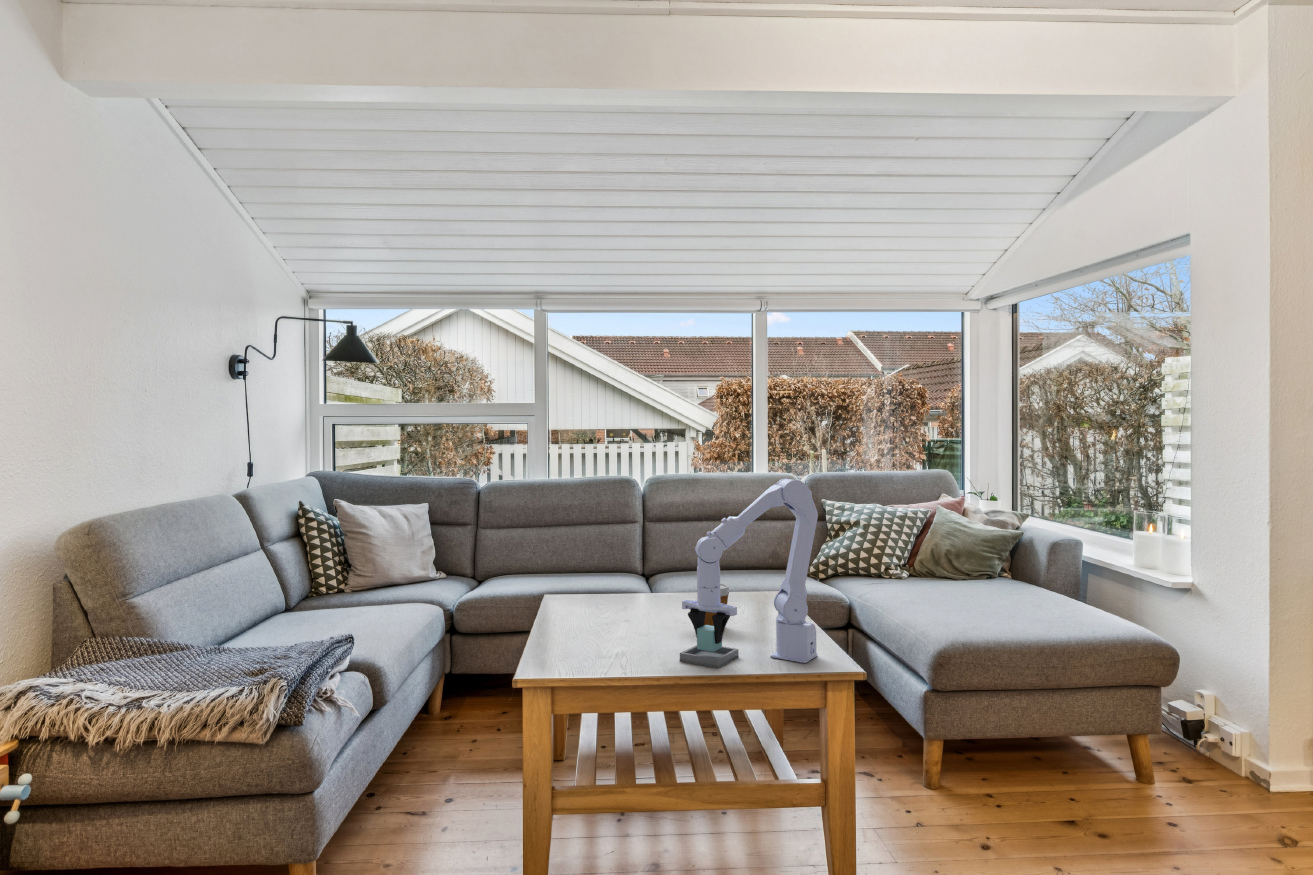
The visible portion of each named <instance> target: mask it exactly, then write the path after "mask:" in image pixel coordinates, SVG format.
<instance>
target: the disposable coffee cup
mask: <svg viewBox="0 0 1313 875" xmlns="http://www.w3.org/2000/svg"><path fill="white" fill-rule="evenodd" d="M730 592H731V590H730V587H729V584H725V583H720V603H723V604H726V605H728V601H729V599H728V598H729V594H730ZM715 614H717V613H713V612H706V614H705V621H704V626H705V625H710V626H714V624H713V620H712V616H713V615H715Z"/></svg>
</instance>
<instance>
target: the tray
mask: <svg viewBox="0 0 1313 875" xmlns="http://www.w3.org/2000/svg"><path fill="white" fill-rule="evenodd" d="M738 658H739V649H738V648H733V647H727V646H723V645H722V648H720V649H718V650H716V651H714V652H711V651H705V650H700V649H697V644H696V645H693V646H692V647H690V648H688V649H686V650H683V651H681V652H679V662H682V663H687V664H693V665H697V666H703V667H707V668H713V669H719V668H721V667H723V666H725V665H727V664H729V663H730V662H733V661H734V660H736V659H738Z"/></svg>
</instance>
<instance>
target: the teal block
mask: <svg viewBox="0 0 1313 875" xmlns="http://www.w3.org/2000/svg"><path fill="white" fill-rule="evenodd" d="M696 645H697V649H700V650H705V651H711V652H714V651H716V650H718V649H720V648H722V646H723V640H722V641H721V643H719V644H715V638H714V626H710V625H705V626H702V627H700V628H697V637H696Z"/></svg>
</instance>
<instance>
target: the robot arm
mask: <svg viewBox="0 0 1313 875" xmlns="http://www.w3.org/2000/svg"><path fill="white" fill-rule="evenodd" d="M776 507H777V508H778V507H787V508H788V510H789V511H791V513H792V514H793V515H794V517H795V522H794V529H793V534H792V538H791V544H790V549H789V553H788V560H787V565H786V571H785V576H784V579H783V580H782V582H781V584H780V587H779V591H778V593H776V594H775V597H774V600H773V605H774V609H775V610H776V611H777V612H778V613H777V615H776V618H775V628H776V629H775V631H776V632H775V633H776V634H775V635H776V639H775V640H776V642H775V643H776V651H775V652H773V653H771V654H770V655H769V657H770V658H775V659H778V660H779V659H780V660H785V661H791V662H797V663H803V664H807V663H809V662H810V661H811V660H812V659H815V658H816V657H817V656H818V653H817V628H816V625H815V624H814V623H811V622H808V621H807V619H806V618H807V616H808V614H809V607H808V603H807V596H808V592H807V588H806V587H807V586H806V581H807V577H808V573H809V572H808V571H809V565H810V561H811V555H812V549H813V544H814V540H815V534H816V528H817V523H818V518H819V513H818V509H817V507H816V504H815V502H814V499H813V492H812V490H811V489H810V488H809V487H808V486H807V485H806V484H805V483H804V481H802V480H798V479H791V478H786V477H785V478H782V479H779V481H777V482H776V483H775V484H773V485H771V486H769V487H768V488H767V489H766V490H764V491H763V493H762V494H760V496H758V497H757V498H756V499H755V500H754V501H752V503H751V504H750V505H748V506H747V507H746V508H745V509H744V510H743V511H741V512H740V513H739V514H738V516H734V515H733V516H728V517H723V518H722V519H721V520H720V521H721V523H720V524H719V525H718V526H716V527H715V528H713V530H711V531H710V530H708V531H707V532H706V536H703V537H701V538H699V539H698V541H697V542H696V545H695V547H694V552H695V554H696V556H697V562H696V563H697V567H696V588H697V589H696V592H697V594H696V595H697V598H696V600H691V599H685V600H682V601H681V609H682V610H689V611H688V612H687V617H688V618H689V620H690V621H691V624H692V626H693V629H694V632H695V636H696V638H697V628H700V627H702V626H704V621H705V614H706V612H713V613H717V614H715V615H713V616H712V620H713V624H714V638H715V644H719V643H721V641H722V642H723V635H724V632H725V629H726V626H727V624H728V622H729V619H730V618H731V617H734V616H737V615H738V607H737V606H734V605H729V604H727V605H726V604H723V603H720V584H721V567H720V559H721V558H722V556H723V552H724V551H726V550H727V549H729V548H730V547H731V546H732V545H734V544H735V543H736V542H737V541H738V540H740V539H741V538H742V537H743V536H744V535H745V534H746V528H747V526H748V525H750V524H751V523H752V522H754V521H755V520H757V519H758V518H759V517H761V516H762V515H763V514H764V513H766V512H767V511H768V510H770V509H771V508H776Z"/></svg>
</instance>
